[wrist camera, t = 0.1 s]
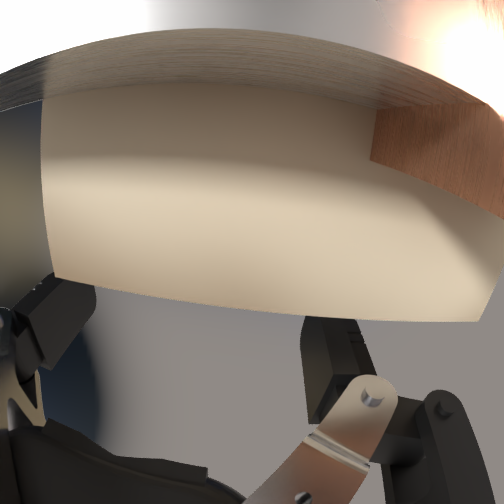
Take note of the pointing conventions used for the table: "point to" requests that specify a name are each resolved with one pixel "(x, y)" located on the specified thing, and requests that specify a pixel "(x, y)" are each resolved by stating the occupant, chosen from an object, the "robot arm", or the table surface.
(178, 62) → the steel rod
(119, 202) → the birch stand
